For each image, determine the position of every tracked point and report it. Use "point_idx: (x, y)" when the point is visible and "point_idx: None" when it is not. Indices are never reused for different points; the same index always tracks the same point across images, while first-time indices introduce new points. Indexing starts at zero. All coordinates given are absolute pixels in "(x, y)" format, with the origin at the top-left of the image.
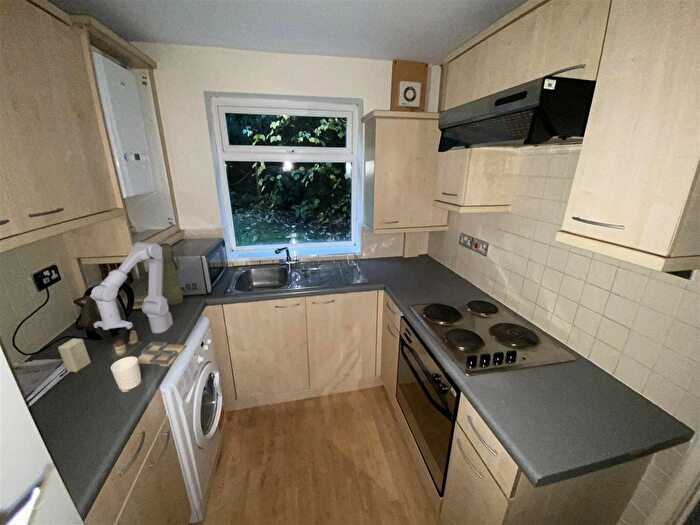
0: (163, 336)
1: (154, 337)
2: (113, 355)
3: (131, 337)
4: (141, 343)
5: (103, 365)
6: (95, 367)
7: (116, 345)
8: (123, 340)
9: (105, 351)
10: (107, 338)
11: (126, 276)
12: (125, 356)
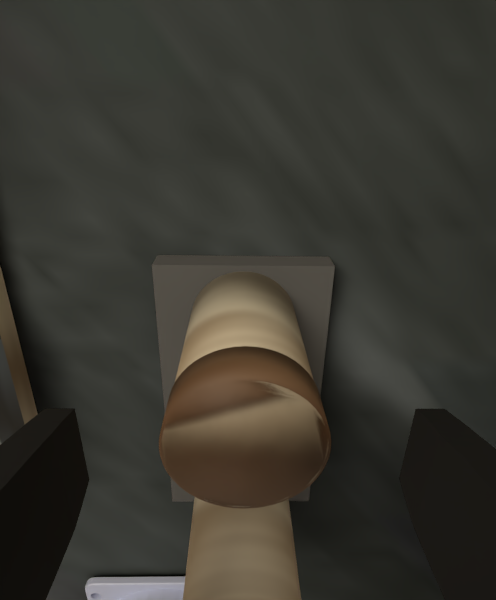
0: (80, 563)
1: (150, 550)
2: (326, 288)
3: (207, 549)
4: (171, 478)
5: (347, 125)
6: (426, 78)
7: (225, 367)
8: (7, 468)
9: (482, 365)
10: (466, 511)
11: None
12: (162, 276)
